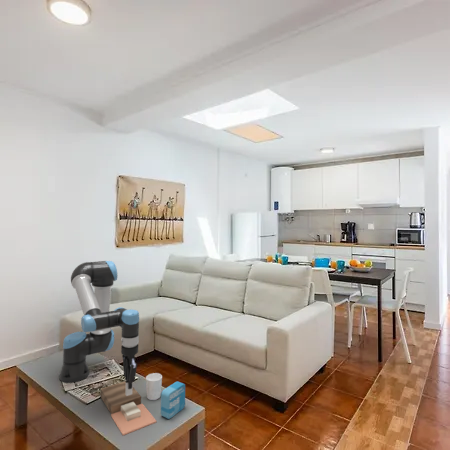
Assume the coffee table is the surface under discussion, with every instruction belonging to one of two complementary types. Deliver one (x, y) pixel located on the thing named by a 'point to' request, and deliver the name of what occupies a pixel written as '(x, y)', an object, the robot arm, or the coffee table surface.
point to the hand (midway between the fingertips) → (128, 394)
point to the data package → (172, 399)
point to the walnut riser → (118, 397)
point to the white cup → (153, 386)
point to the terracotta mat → (133, 421)
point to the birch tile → (130, 411)
